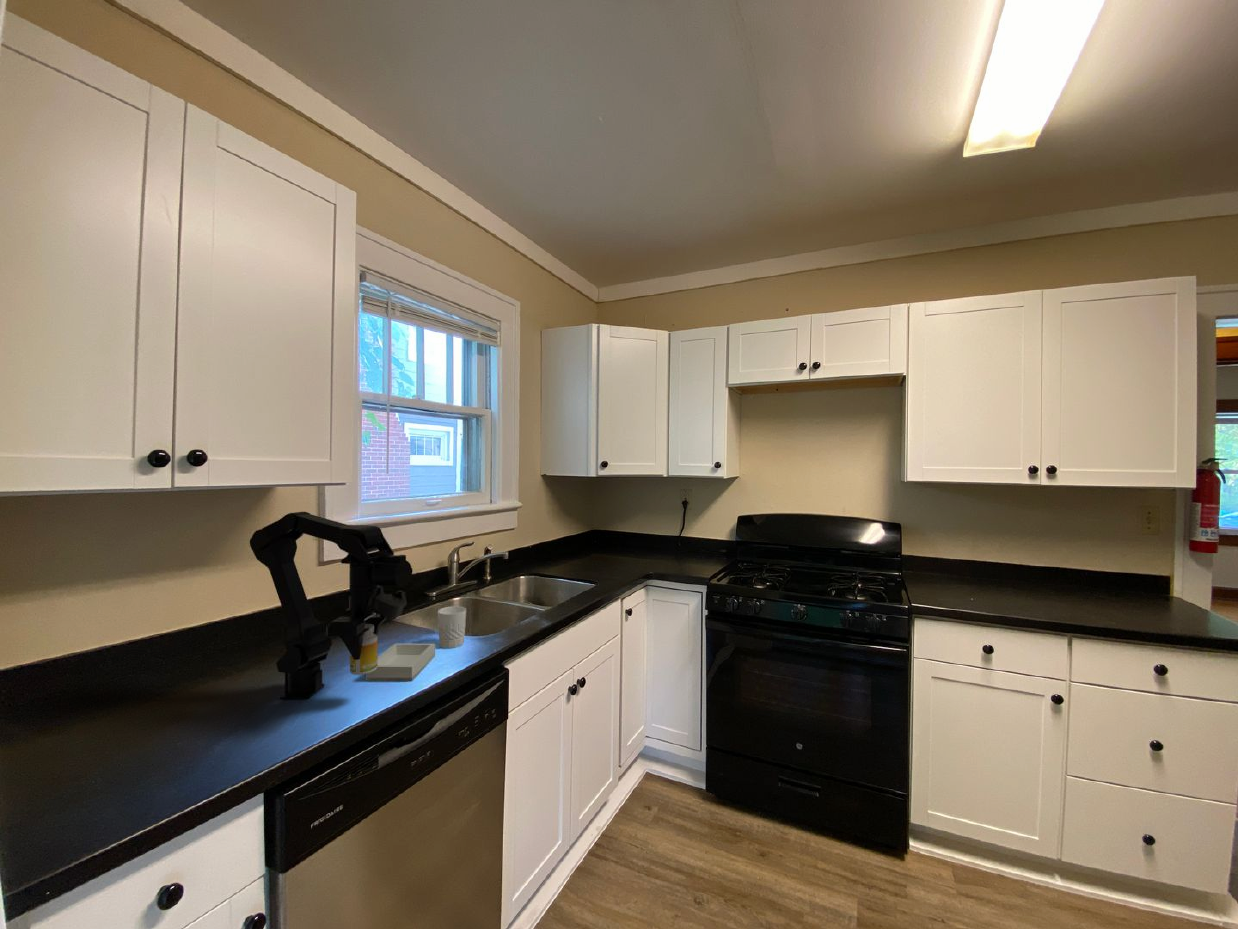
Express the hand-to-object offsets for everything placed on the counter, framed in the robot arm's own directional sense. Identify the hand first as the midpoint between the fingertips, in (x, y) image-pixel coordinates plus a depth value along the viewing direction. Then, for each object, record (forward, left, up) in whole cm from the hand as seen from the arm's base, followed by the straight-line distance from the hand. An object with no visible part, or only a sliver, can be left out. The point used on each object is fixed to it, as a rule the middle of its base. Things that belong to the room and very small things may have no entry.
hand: (363, 654), depth 108 cm
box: (+1, +17, -10) cm, 20 cm away
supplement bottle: (0, 0, -4) cm, 4 cm away
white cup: (+8, +34, -11) cm, 37 cm away
